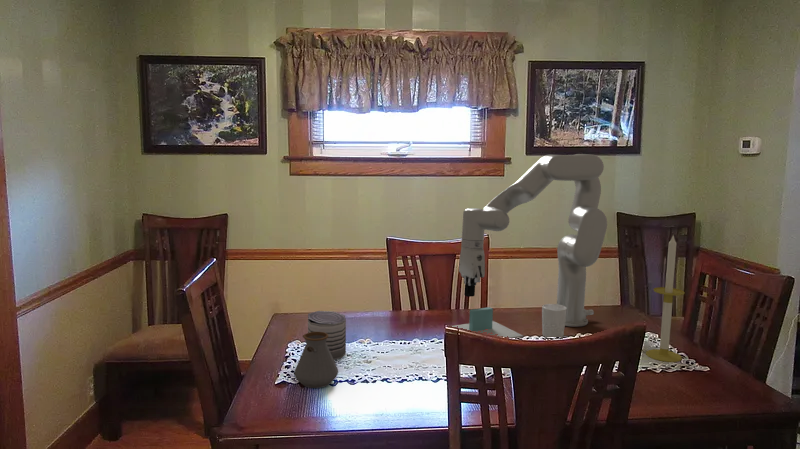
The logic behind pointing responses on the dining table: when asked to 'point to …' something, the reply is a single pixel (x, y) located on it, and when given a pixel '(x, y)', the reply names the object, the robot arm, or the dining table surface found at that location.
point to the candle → (667, 310)
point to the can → (330, 330)
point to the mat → (495, 330)
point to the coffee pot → (316, 362)
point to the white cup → (553, 320)
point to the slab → (481, 319)
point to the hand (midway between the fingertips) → (469, 295)
